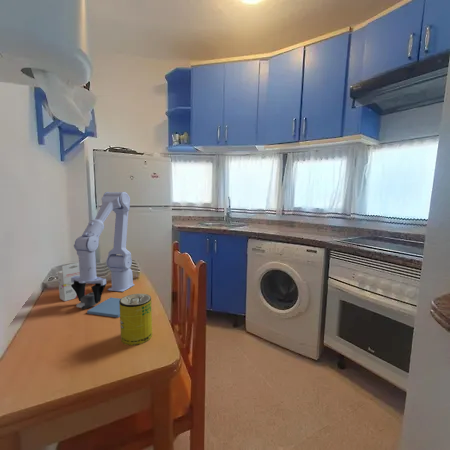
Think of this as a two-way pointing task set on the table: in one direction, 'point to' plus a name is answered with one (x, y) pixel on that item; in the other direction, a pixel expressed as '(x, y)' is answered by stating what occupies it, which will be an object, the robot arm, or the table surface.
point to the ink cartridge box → (67, 281)
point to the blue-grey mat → (107, 308)
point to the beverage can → (135, 319)
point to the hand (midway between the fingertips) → (89, 301)
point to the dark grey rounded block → (87, 301)
